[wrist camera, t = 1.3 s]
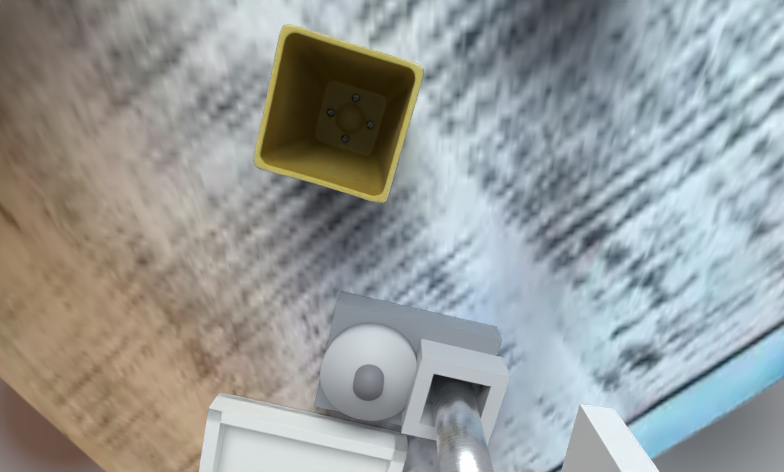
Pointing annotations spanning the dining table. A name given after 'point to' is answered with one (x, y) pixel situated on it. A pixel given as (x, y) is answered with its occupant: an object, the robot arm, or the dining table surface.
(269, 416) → the tray
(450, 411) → the pin
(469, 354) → the tensioner block
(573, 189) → the dining table surface
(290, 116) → the flower pot
